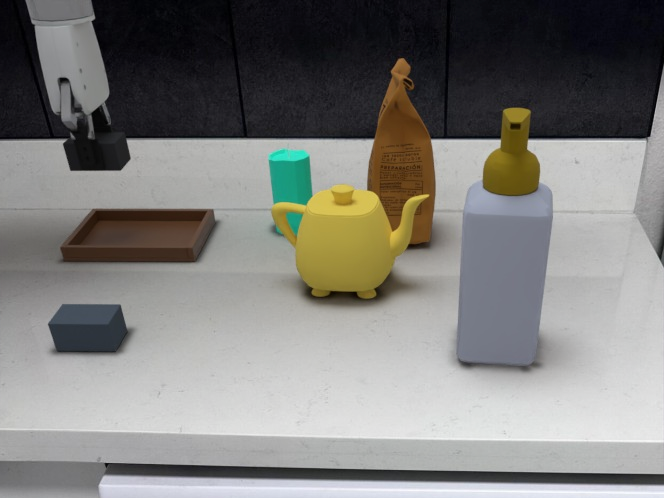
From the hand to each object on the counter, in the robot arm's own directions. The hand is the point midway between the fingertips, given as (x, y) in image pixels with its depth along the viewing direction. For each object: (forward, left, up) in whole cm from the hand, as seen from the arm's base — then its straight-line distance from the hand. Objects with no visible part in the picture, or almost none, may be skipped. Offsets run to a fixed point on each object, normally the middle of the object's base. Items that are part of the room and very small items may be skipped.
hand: (100, 161), depth 109 cm
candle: (+25, +5, -11) cm, 28 cm away
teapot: (+35, -14, -11) cm, 40 cm away
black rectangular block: (0, 0, 0) cm, 0 cm away
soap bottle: (+53, -31, -11) cm, 63 cm away
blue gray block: (+5, -30, -11) cm, 32 cm away
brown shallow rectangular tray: (+3, 0, -11) cm, 12 cm away
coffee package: (+41, +3, -11) cm, 43 cm away
